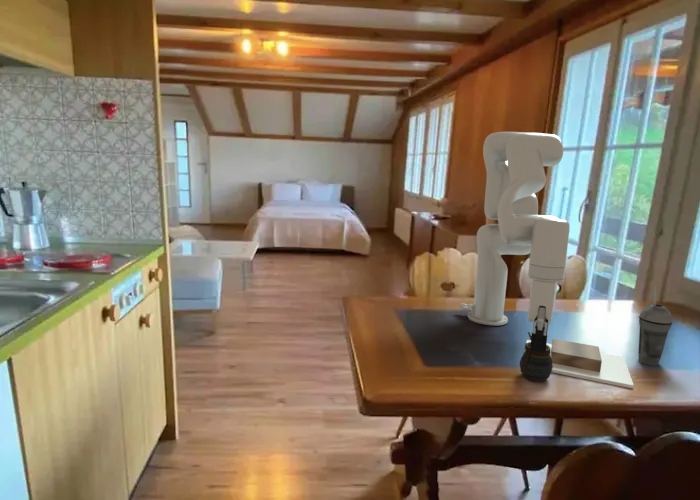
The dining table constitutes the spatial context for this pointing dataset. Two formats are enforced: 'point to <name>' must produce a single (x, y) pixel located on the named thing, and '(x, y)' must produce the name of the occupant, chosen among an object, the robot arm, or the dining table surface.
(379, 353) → the dining table surface
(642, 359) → the beverage cup
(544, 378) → the mate gourd
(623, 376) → the board
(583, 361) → the walnut plinth
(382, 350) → the dining table surface
